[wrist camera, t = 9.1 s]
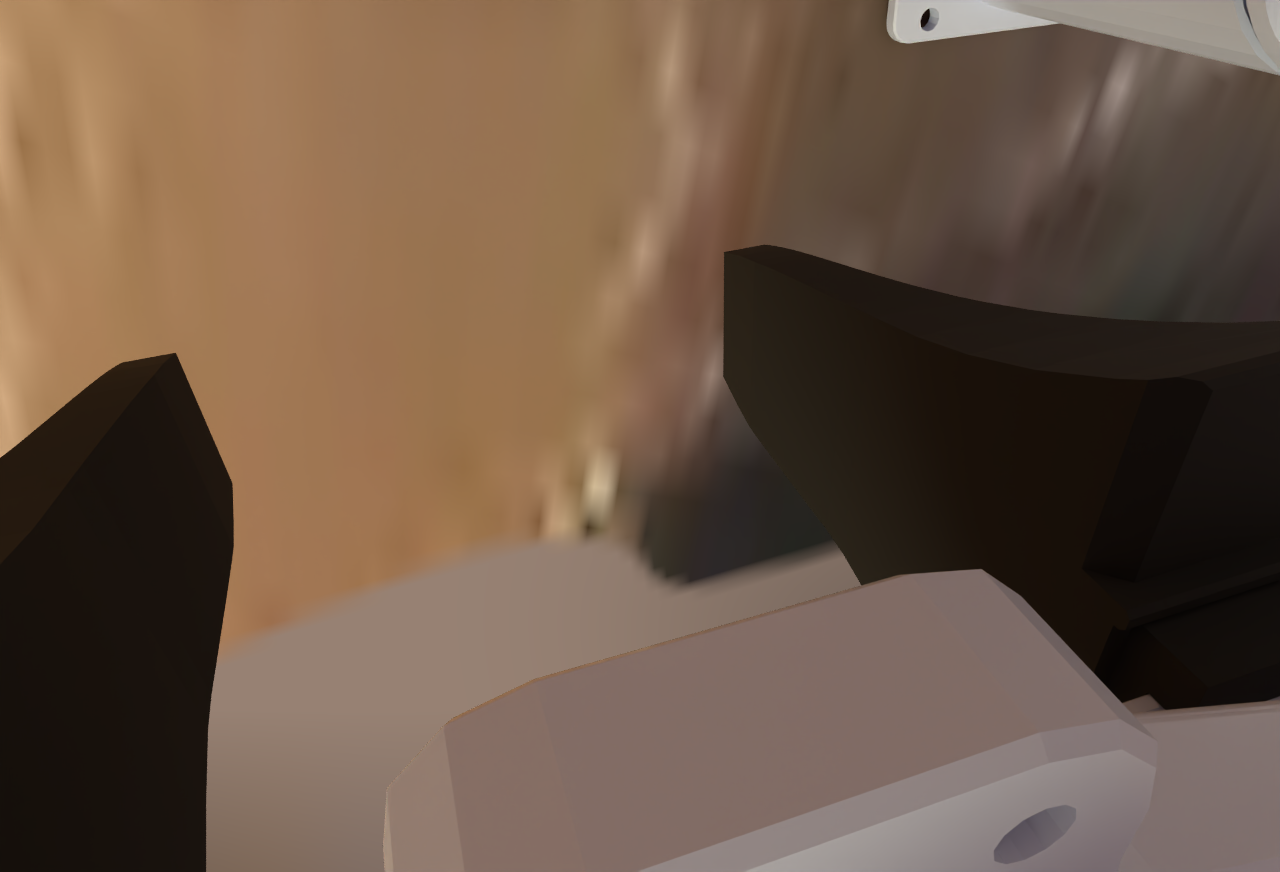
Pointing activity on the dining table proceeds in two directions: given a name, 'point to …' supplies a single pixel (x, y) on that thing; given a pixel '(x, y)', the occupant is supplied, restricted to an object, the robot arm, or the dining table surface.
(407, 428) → the dining table surface
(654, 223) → the dining table surface
